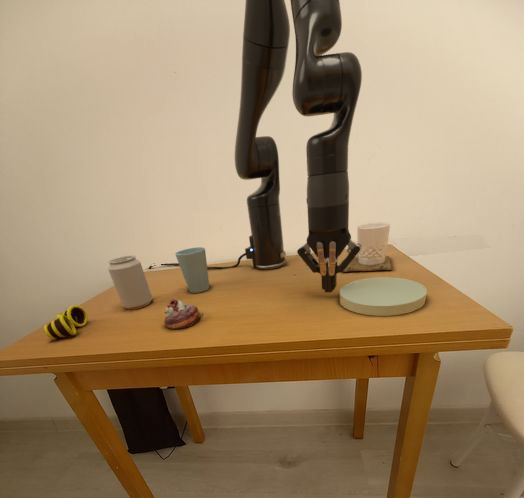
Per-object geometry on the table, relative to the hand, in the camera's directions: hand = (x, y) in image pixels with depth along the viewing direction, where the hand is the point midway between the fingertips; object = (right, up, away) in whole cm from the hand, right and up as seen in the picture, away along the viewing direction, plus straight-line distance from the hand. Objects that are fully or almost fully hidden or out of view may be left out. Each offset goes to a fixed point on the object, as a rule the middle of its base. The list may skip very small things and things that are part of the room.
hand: (329, 291), depth 63 cm
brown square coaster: (+14, +11, +17) cm, 24 cm away
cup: (-32, +4, +18) cm, 36 cm away
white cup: (+15, +11, +17) cm, 25 cm away
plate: (+10, -2, -4) cm, 10 cm away
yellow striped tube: (-57, -9, +3) cm, 58 cm away
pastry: (-31, -7, 0) cm, 32 cm away
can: (-46, -1, +13) cm, 48 cm away
